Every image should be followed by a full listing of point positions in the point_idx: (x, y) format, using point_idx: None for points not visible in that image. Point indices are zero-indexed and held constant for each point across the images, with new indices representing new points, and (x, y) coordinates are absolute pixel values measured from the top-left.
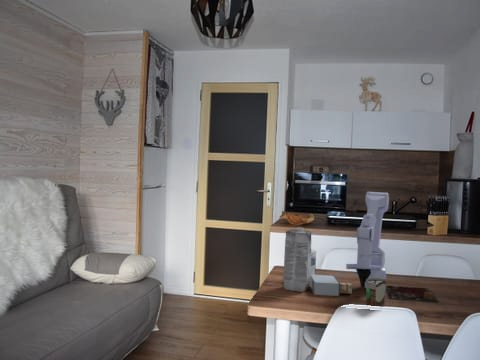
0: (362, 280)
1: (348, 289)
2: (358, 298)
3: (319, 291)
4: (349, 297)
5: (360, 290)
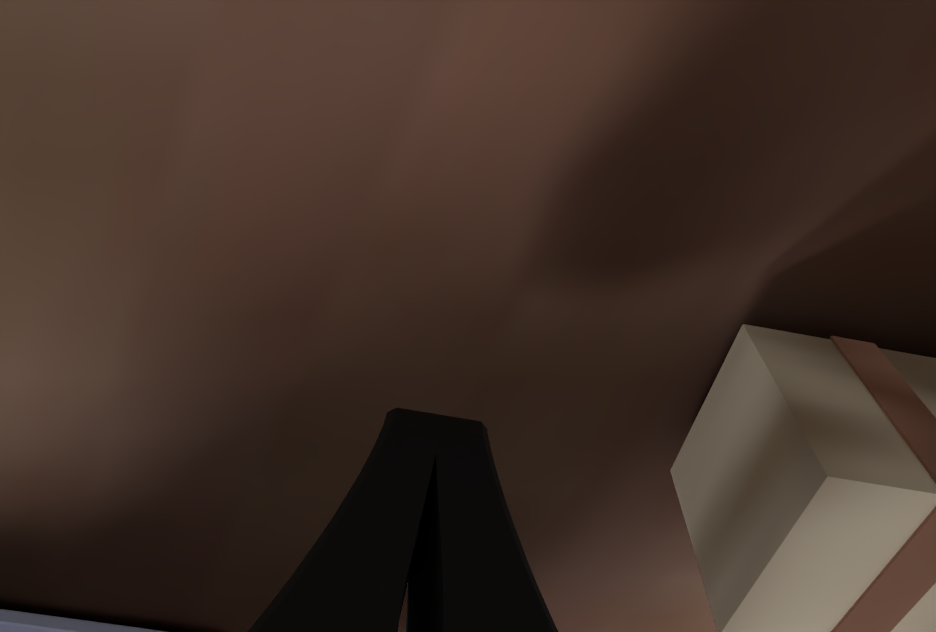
0: (496, 588)
1: (866, 397)
2: (716, 42)
3: None
4: (913, 137)
5: None
